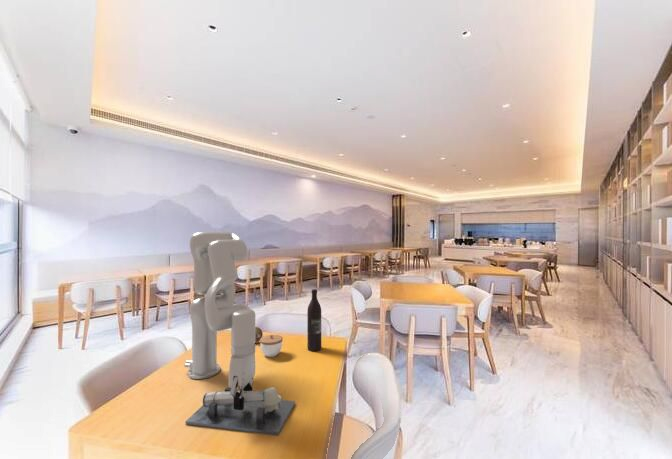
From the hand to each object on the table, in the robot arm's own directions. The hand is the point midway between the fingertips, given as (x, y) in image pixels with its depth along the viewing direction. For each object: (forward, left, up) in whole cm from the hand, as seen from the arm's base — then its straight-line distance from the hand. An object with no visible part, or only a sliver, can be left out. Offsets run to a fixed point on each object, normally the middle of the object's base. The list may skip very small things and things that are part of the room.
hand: (243, 403), depth 96 cm
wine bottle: (+10, +56, -4) cm, 57 cm away
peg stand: (0, 0, -3) cm, 3 cm away
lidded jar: (-9, +46, -4) cm, 47 cm away
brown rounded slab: (-27, +59, -4) cm, 65 cm away
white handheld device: (0, 0, -1) cm, 1 cm away
